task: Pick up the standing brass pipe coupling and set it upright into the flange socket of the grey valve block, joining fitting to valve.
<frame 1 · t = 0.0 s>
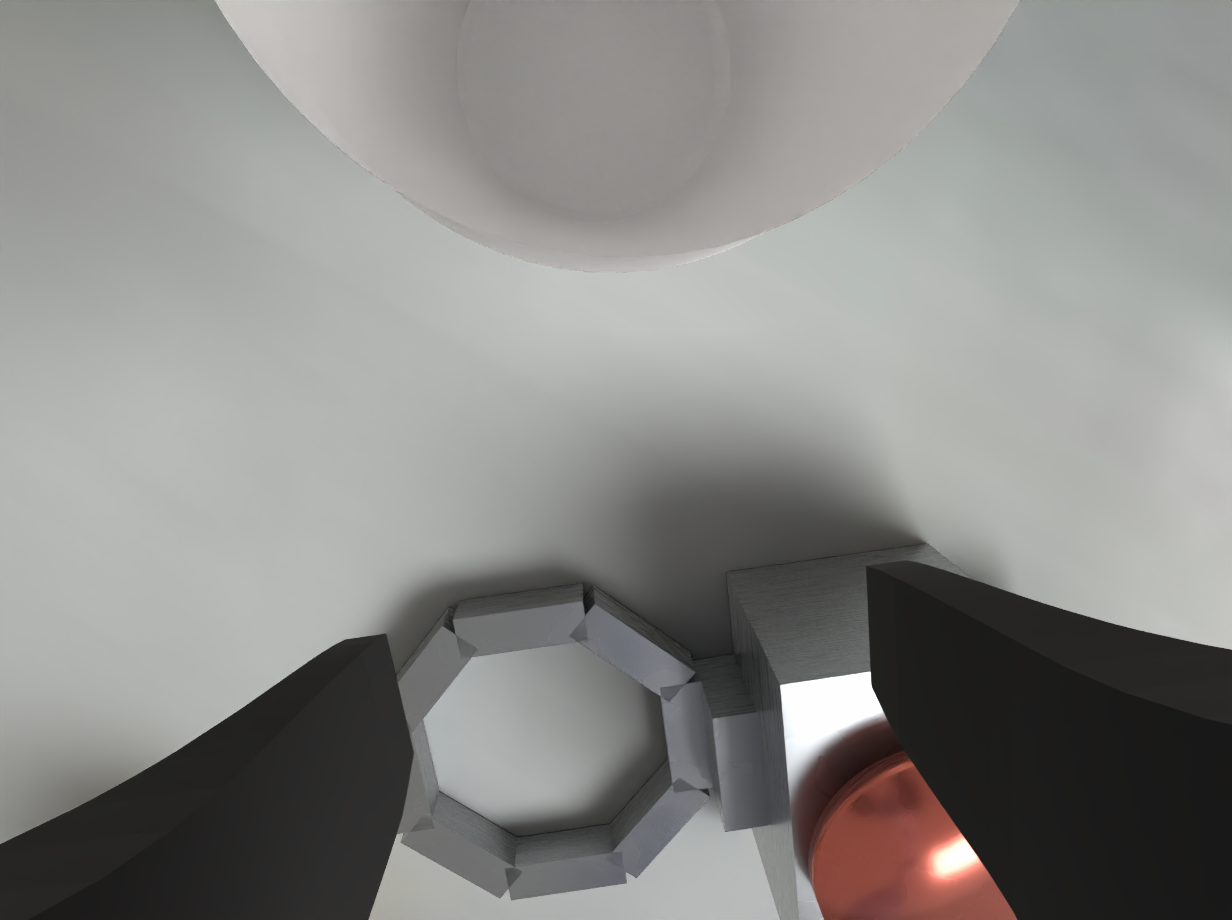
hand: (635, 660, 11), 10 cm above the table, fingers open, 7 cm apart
cup: (594, 80, 18), on the table
valve: (546, 734, 23), on the table
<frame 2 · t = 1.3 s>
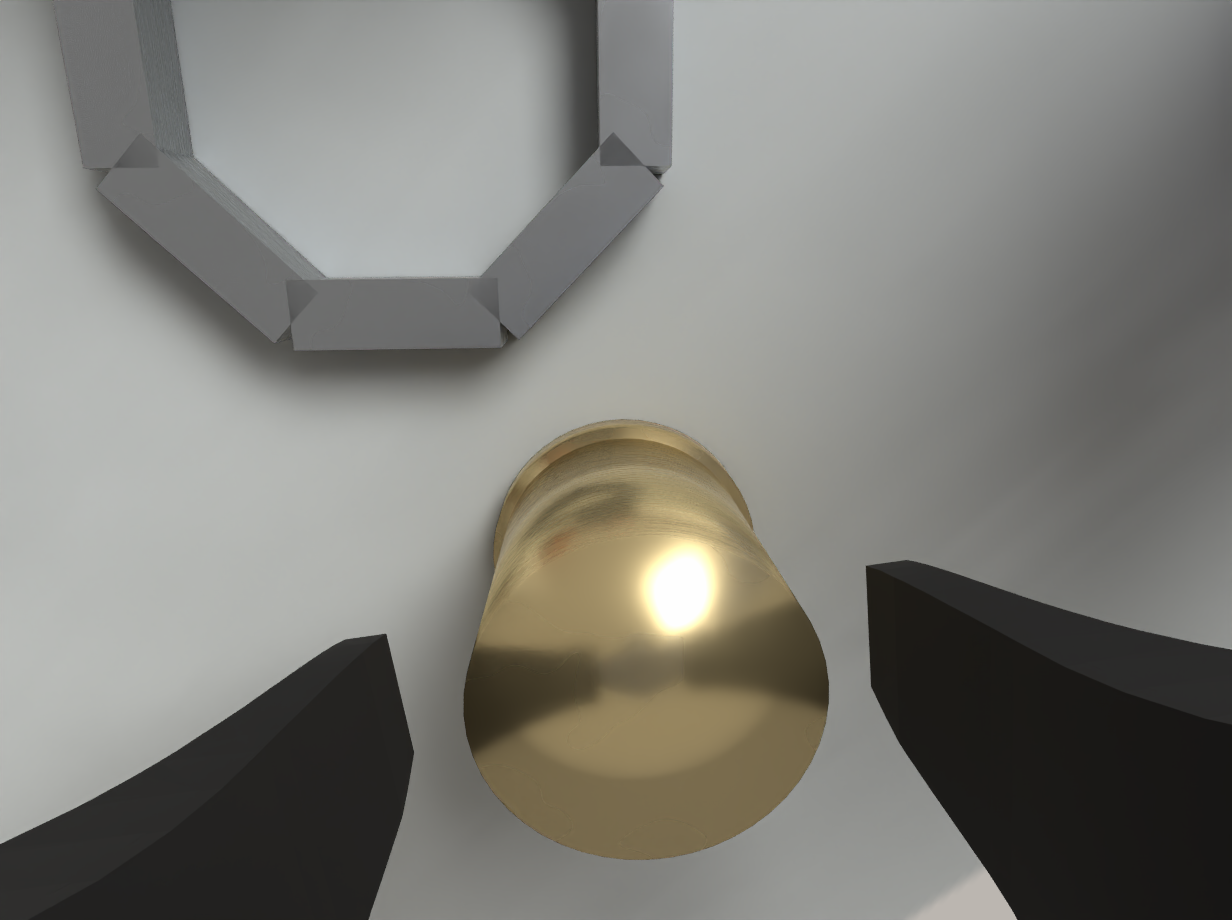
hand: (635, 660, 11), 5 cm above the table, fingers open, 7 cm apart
fitting: (622, 541, 16), on the table
valve: (390, 64, 13), on the table
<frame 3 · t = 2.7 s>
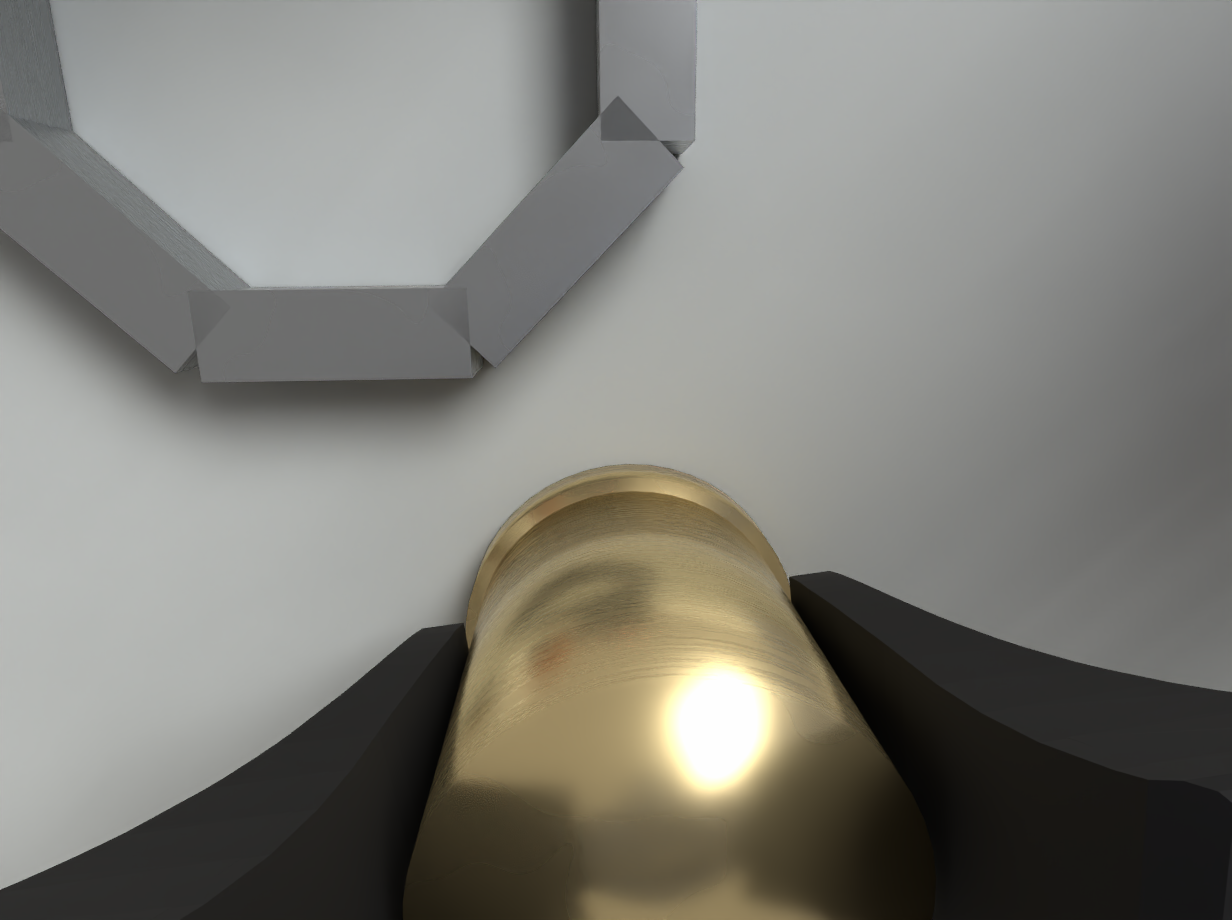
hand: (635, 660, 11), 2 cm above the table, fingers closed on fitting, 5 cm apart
fitting: (628, 613, 12), on the table, touching gripper
valve: (327, 10, 10), on the table
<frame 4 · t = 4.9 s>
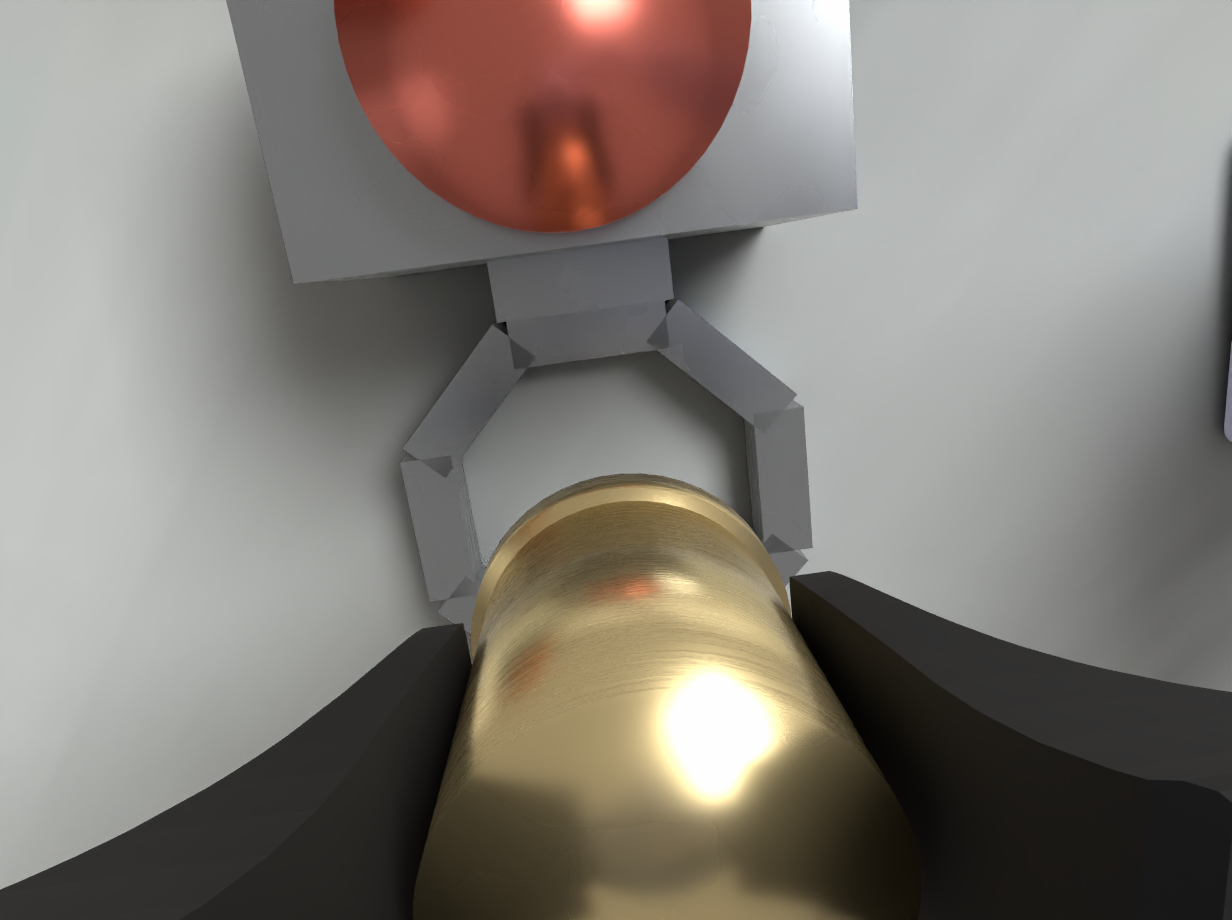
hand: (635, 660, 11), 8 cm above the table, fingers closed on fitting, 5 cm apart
fitting: (629, 618, 13), point 7 cm above the table, touching gripper
valve: (610, 491, 19), on the table
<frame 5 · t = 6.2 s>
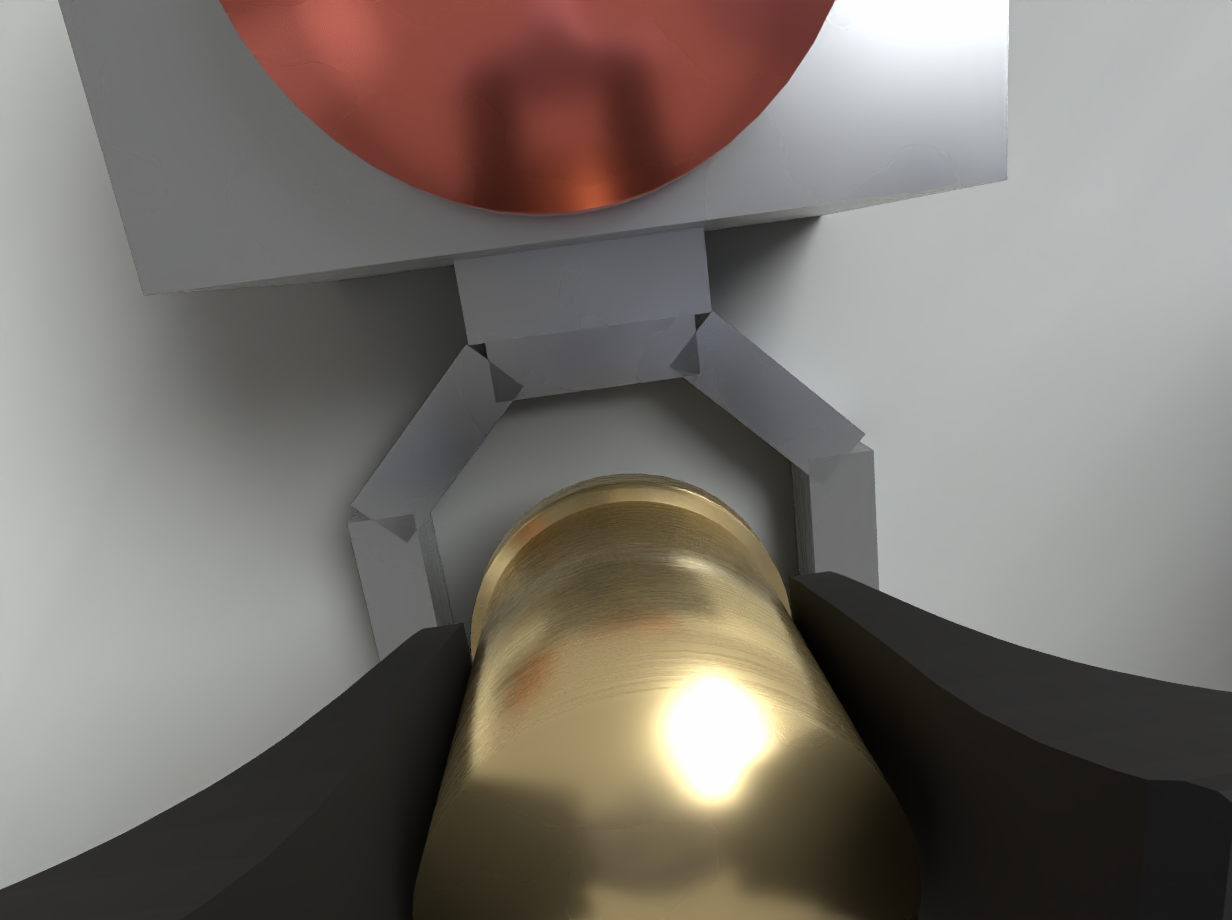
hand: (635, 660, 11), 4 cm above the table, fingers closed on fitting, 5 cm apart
fitting: (629, 618, 13), point 2 cm above the table, touching gripper
valve: (620, 553, 15), on the table
when the fingers open (2 cm above the table, at t = 7.5 s): fitting stays where it is, resting in valve.
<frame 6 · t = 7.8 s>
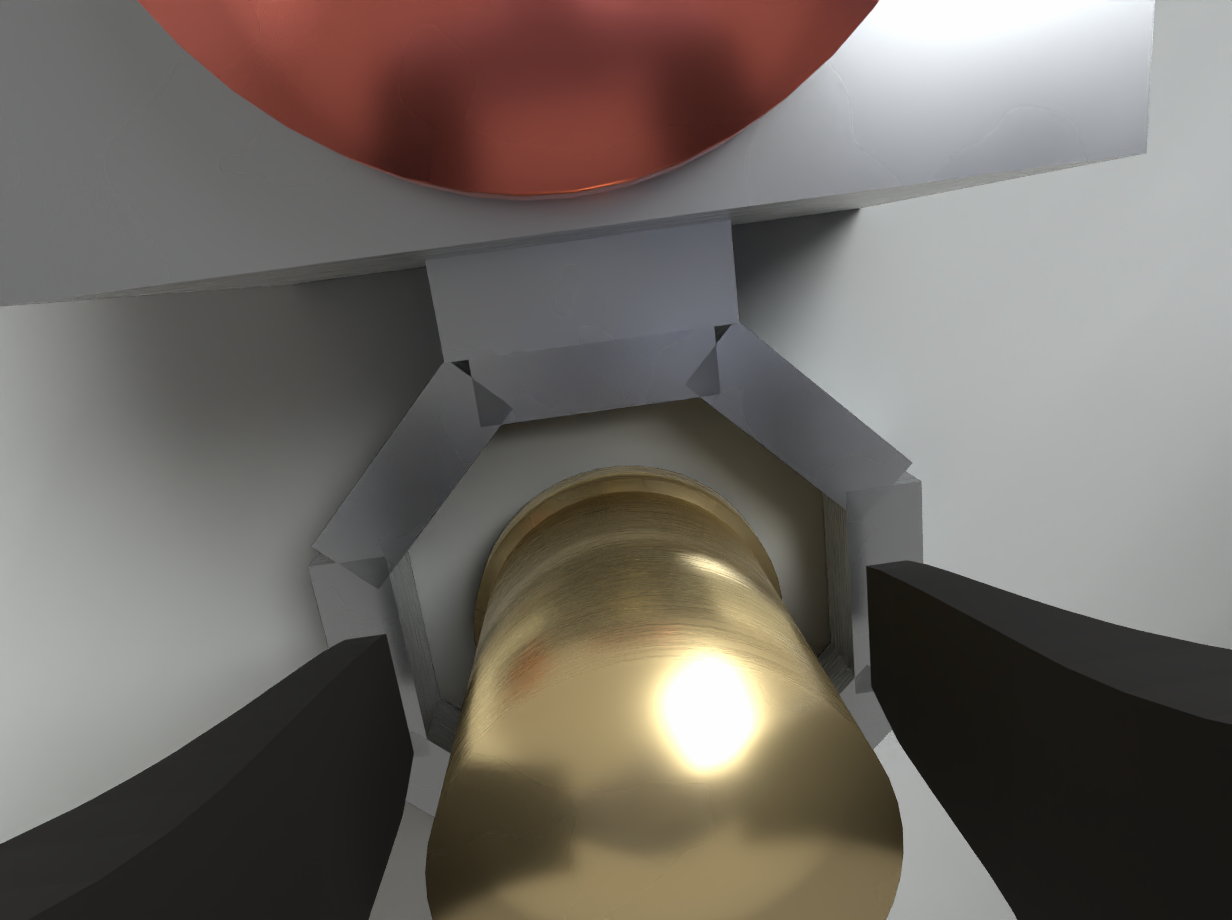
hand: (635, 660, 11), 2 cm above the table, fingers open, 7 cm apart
fitting: (626, 606, 13), resting in valve
valve: (626, 595, 13), on the table
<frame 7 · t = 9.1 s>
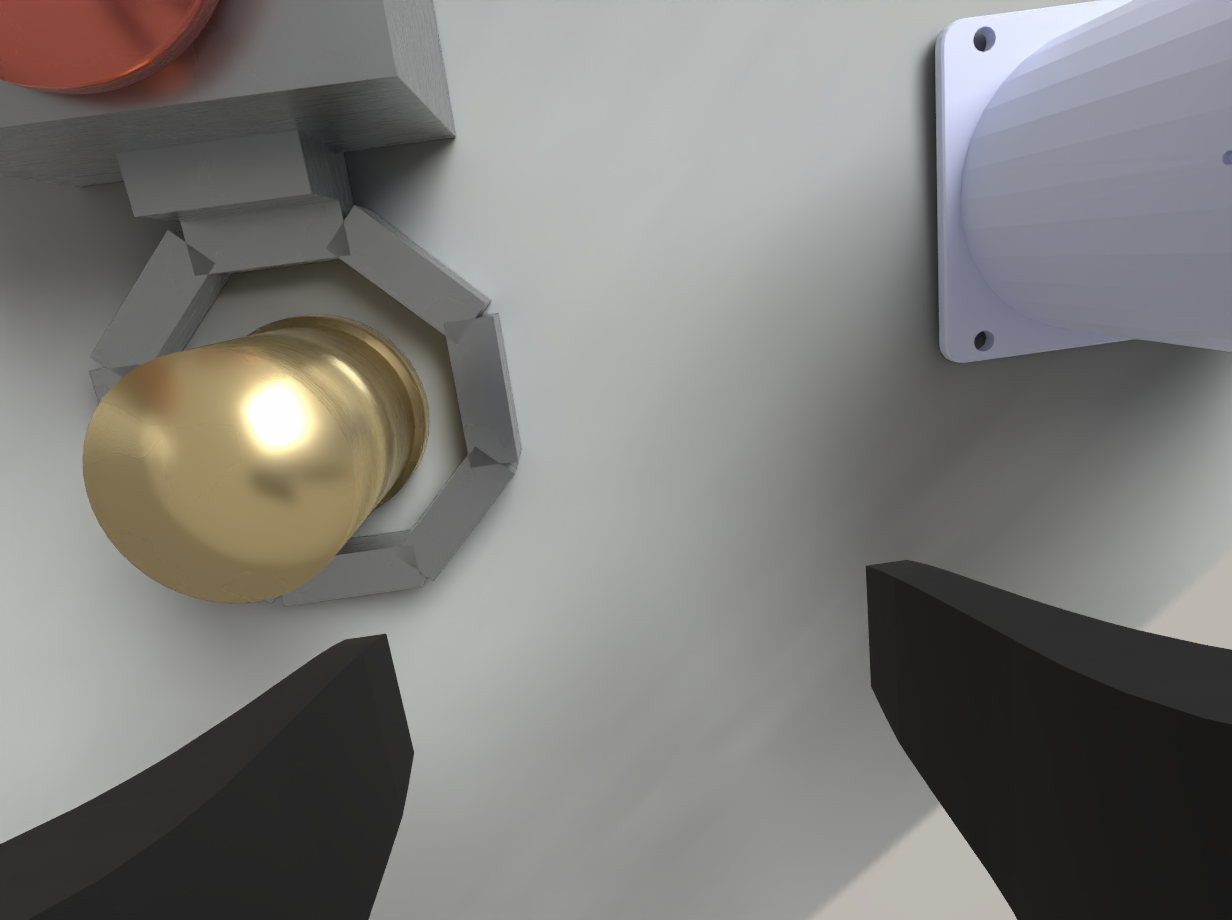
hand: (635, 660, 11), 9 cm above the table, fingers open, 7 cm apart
fitting: (328, 416, 19), resting in valve
valve: (326, 408, 19), on the table
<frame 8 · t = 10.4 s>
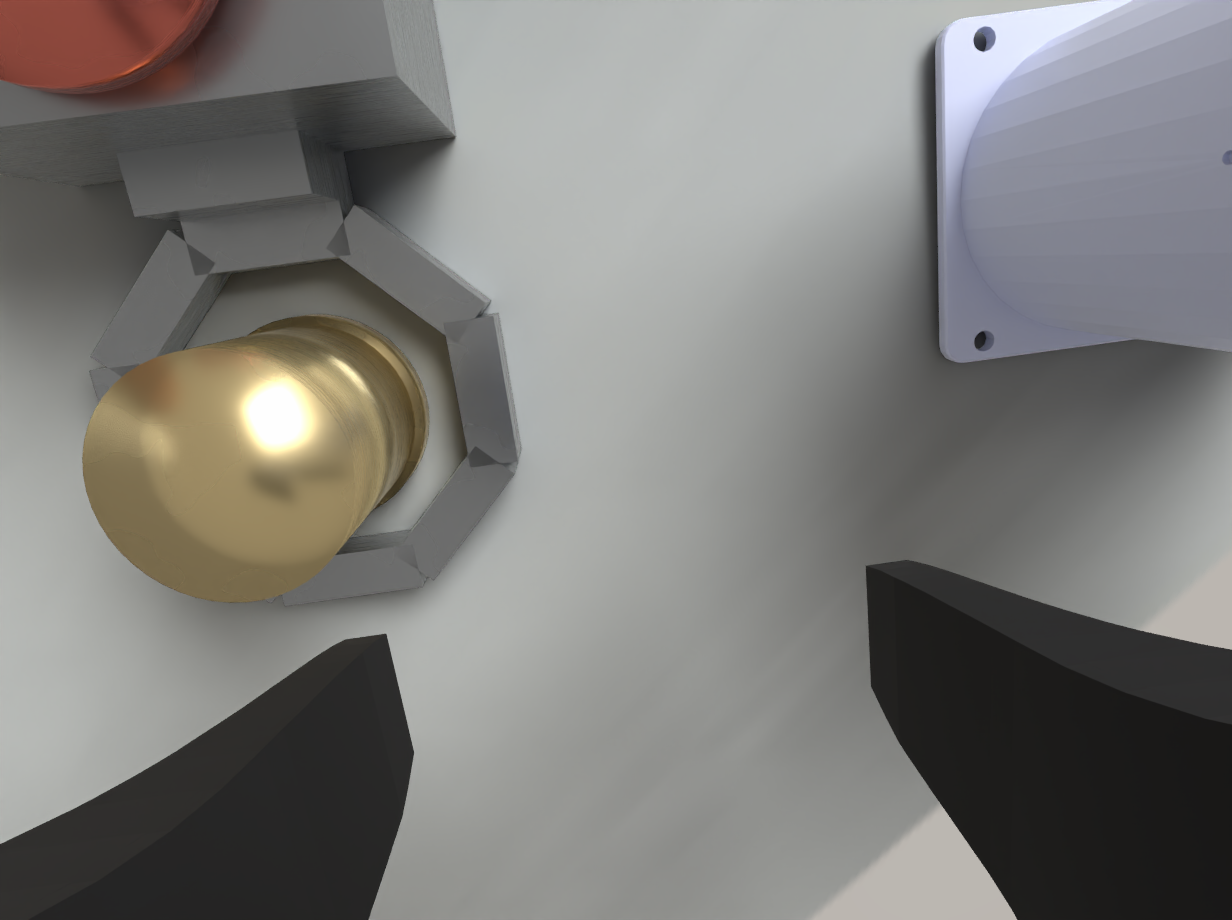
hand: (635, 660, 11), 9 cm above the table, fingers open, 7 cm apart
fitting: (328, 415, 19), resting in valve
valve: (326, 407, 19), on the table
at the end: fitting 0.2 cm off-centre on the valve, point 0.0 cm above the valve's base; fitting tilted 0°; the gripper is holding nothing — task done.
